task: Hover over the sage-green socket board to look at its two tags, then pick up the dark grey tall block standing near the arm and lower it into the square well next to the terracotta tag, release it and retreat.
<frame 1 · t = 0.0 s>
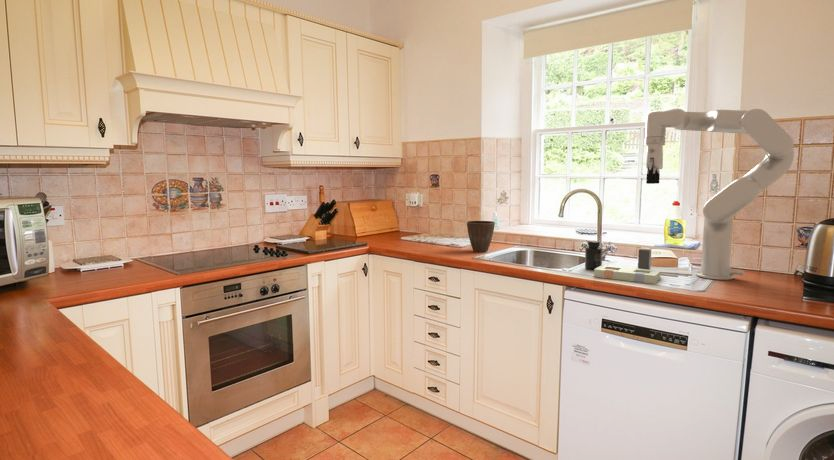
hand: (652, 183, 197), 37 cm above the countertop, tool pointing down, fingers open, 9 cm apart
dark grey tall block: (643, 273, 194), on the countertop
socket board: (626, 277, 187), on the countertop
plant pot: (480, 252, 254), on the countertop
supplement bottle: (593, 269, 205), on the countertop
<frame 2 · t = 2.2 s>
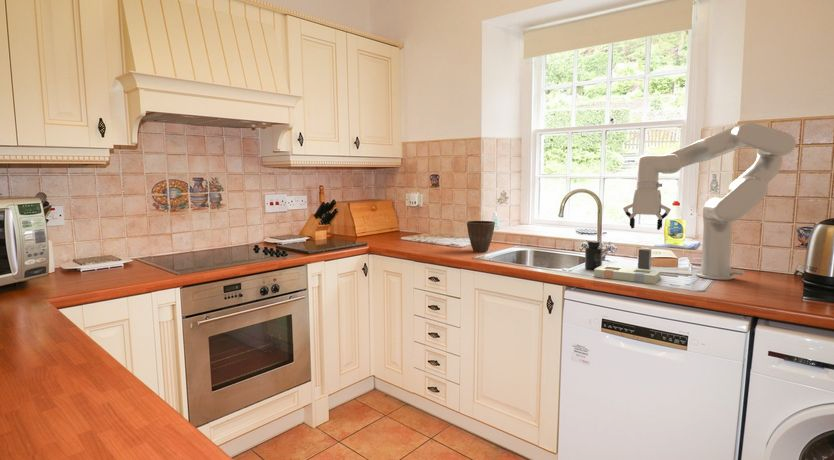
hand: (645, 228, 192), 19 cm above the countertop, tool pointing down, fingers open, 9 cm apart
nothing on the countertop moved.
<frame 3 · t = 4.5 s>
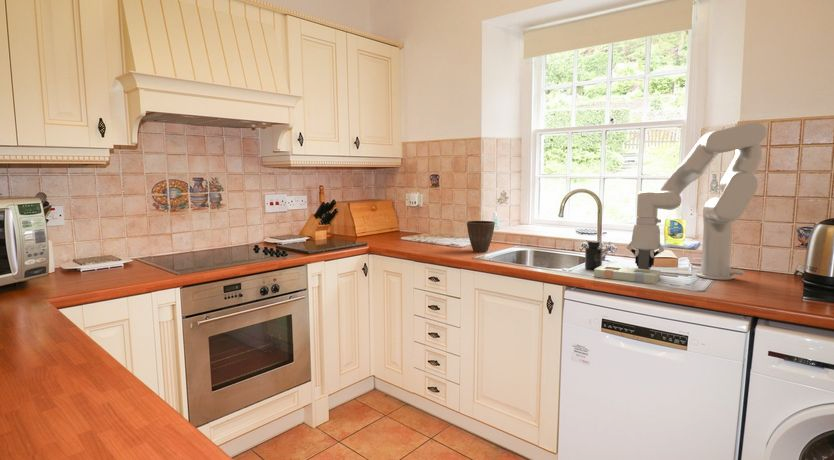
hand: (644, 265, 194), 3 cm above the countertop, tool pointing down, fingers closed on dark grey tall block, 4 cm apart
dark grey tall block: (643, 273, 194), on the countertop, touching gripper
everything else where it was.
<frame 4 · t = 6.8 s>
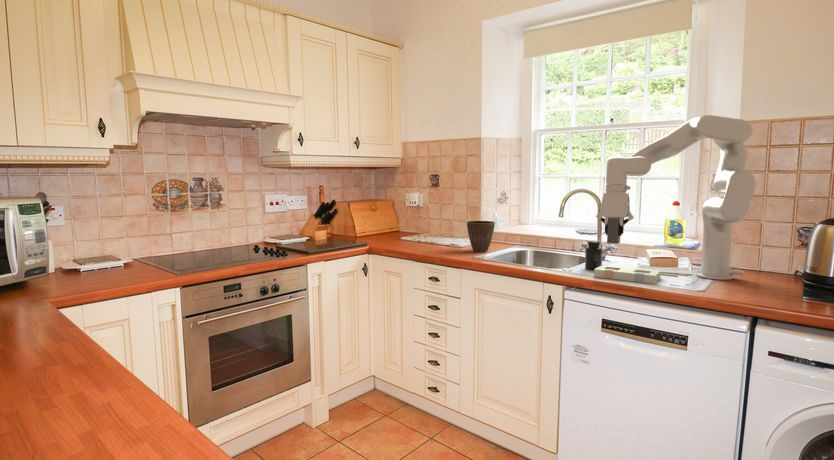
hand: (613, 234, 188), 17 cm above the countertop, tool pointing down, fingers closed on dark grey tall block, 4 cm apart
dark grey tall block: (613, 242, 189), point 13 cm above the countertop, touching gripper
everything else where it was.
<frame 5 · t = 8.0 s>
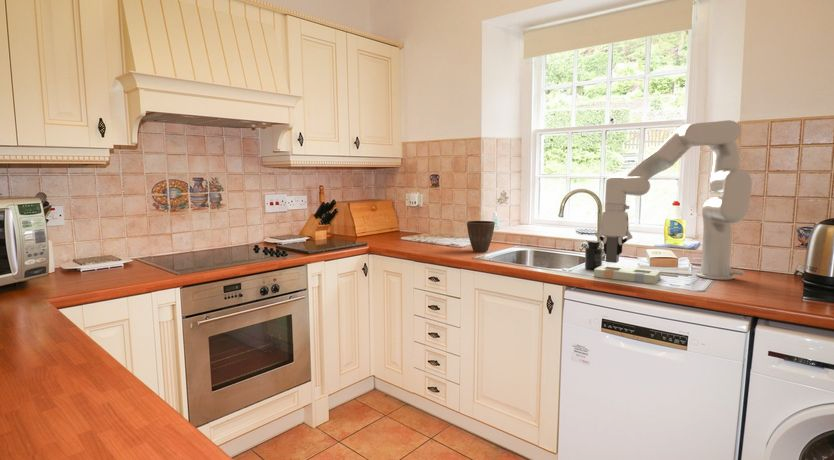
hand: (612, 253, 189), 9 cm above the countertop, tool pointing down, fingers closed on dark grey tall block, 4 cm apart
dark grey tall block: (612, 261, 189), point 6 cm above the countertop, touching gripper
everything else where it was.
when the fingers open (5 cm above the countertop, at t = 9.2 s): dark grey tall block stays where it is, resting on socket board.
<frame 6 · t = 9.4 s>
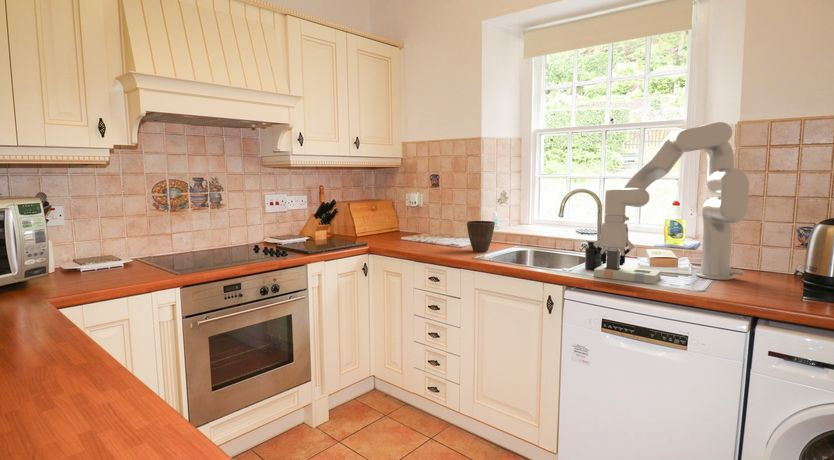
hand: (612, 263, 190), 5 cm above the countertop, tool pointing down, fingers open, 6 cm apart
dark grey tall block: (612, 275, 190), resting on socket board
everything else where it was.
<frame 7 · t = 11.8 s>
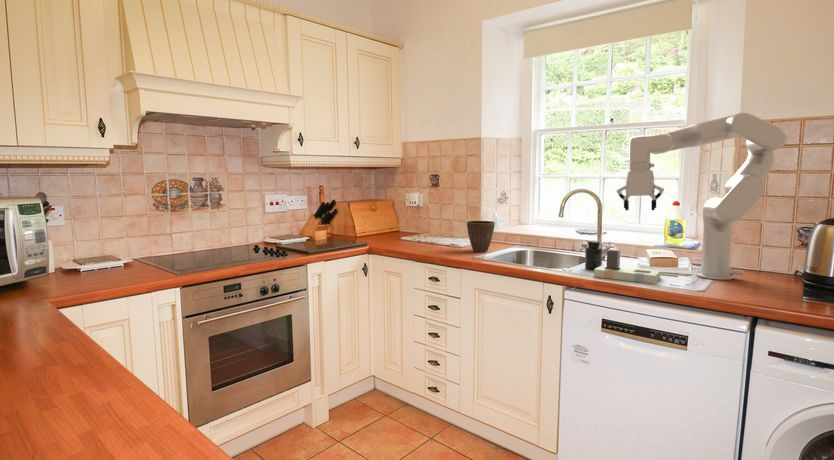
hand: (639, 210, 191), 26 cm above the countertop, tool pointing down, fingers open, 9 cm apart
nothing on the countertop moved.
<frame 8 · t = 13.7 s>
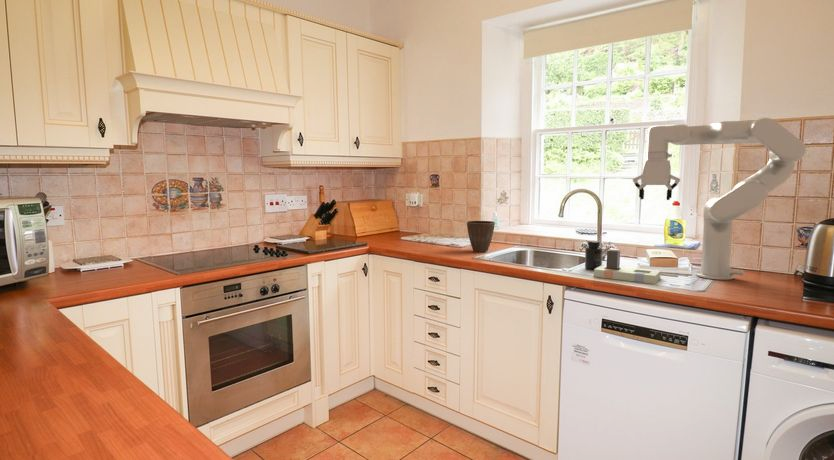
hand: (654, 199, 193), 30 cm above the countertop, tool pointing down, fingers open, 9 cm apart
nothing on the countertop moved.
at the end: dark grey tall block 0.1 cm from the target spot on the socket board, point 0.3 cm above the socket board's base; dark grey tall block tilted 0°; the gripper is holding nothing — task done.
